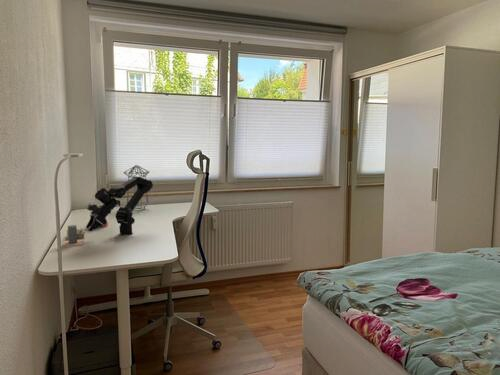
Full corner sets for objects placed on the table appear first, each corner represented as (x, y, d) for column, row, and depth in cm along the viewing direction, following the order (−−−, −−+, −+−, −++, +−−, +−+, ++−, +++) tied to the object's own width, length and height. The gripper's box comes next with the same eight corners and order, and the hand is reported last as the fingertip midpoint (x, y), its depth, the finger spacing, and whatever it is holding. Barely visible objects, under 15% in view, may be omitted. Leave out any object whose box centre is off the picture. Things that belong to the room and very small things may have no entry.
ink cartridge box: (108, 224, 241) (106, 202, 239) (107, 226, 237) (106, 203, 235) (94, 225, 239) (92, 203, 237) (92, 227, 234) (91, 204, 232)
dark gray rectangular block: (76, 241, 201) (75, 224, 200) (77, 242, 198) (76, 226, 197) (67, 242, 199) (66, 225, 198) (67, 244, 196) (66, 227, 194)
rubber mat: (83, 240, 205) (83, 239, 205) (83, 245, 196) (82, 243, 196) (63, 242, 201) (63, 241, 201) (61, 247, 192) (61, 246, 192)
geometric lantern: (123, 211, 286) (121, 165, 282) (135, 207, 300) (133, 164, 297) (141, 212, 281) (139, 165, 277) (152, 208, 296) (151, 164, 292)
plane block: (84, 233, 218) (84, 226, 218) (83, 238, 208) (83, 230, 208) (69, 235, 215) (68, 227, 215) (68, 240, 205) (67, 232, 205)
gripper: (93, 196, 210) (73, 217, 206) (98, 200, 195) (77, 223, 190) (108, 208, 215) (89, 229, 211) (115, 213, 200) (94, 236, 195)
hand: (87, 229), depth 202 cm, fingers open, 9 cm apart
